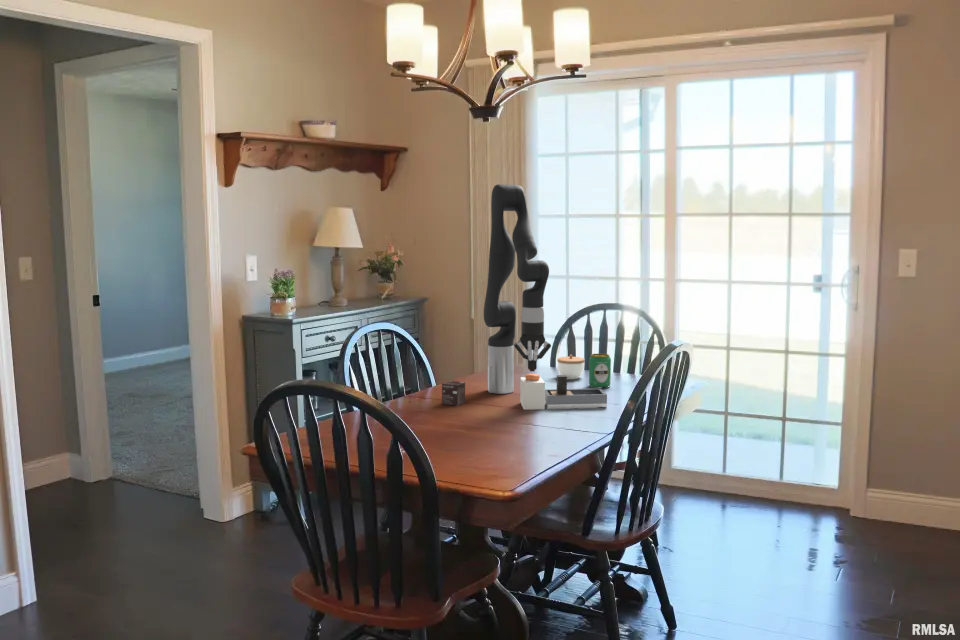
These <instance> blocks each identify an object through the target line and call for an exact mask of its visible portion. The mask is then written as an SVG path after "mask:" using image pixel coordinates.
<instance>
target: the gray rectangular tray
mask: <svg viewBox="0 0 960 640" xmlns="http://www.w3.org/2000/svg"><path fill="white" fill-rule="evenodd" d="M550 391H557V388H556V389H545V408H546V409H548V410H559V409H560V410H564V409H566V410H567V409H572V410H573V409H574V408H578V409H598V408H597V407H607V406H608V394H607V393H606V392H605V391H604V390H603V388H567V391H571V393H572V394H573V395H550ZM607 408H608V407H607Z"/></svg>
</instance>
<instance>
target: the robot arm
mask: <svg viewBox="0 0 960 640" xmlns="http://www.w3.org/2000/svg"><path fill="white" fill-rule="evenodd" d="M490 199H491V200H490V204H491V205H490V213H491V214H490V215H491V216H490V217H491V221H490V222H491V224H490V225H491V231H490V243H489V253H488V254H489V257H488V273H487V286H486V292H485V299H484V307H483V322H484V324H485V325H486V327H488V328H499V330H498V331H497V332H496V333H494V334H492V335H490V336H489V337H488V341H487V344H488V345H487V347H488V350H487V351H488V355H487V356H488V361H487V362H488V363H487V391H488V393H489V394H500V395H501V394H502V395H503V394H511V393H513V392H514V388H515V387H514V371H515V370H514V356H515V355H514V349H516V351H518V353H519V355H521V357H522V358H523V359H524V360H527V369H528V371H529V372H535V371H536V370H537V367H538V366H537V362H538V360H541V359H543V358H544V357H545V355H546V354H547V352H548V351H549V350H550V349H551V347H552V345H551V343H549V342H548V341H546V337H545V332H544V331H545V311H544V310H545V309H544V294H545V289H546V286H547V283H548V279H549V275H550V267H549V265H548V262H546V261H544V260H532V259H534V258H536V257H537V255H538V248H537V245H536V242H535V239H534V236H533V233H532V230H531V229H532V228H531V225H530V217H529V211H528V210H529V208H528V205H527V204H528V202H527V197H526V194H525V191H524V188H523V187H522V186H521V185H519V184H495V185H494V186H493V188H492V191H491V198H490ZM504 212H515V213H516V216H517V219H516V222H515V223H516V224H515V226H514V229H513V231H512V237H511V236H510V233H509V232H508V230H507V228H506V225H505V219H504V218H505V217H504ZM515 261H516V262H517V263H516V262H515ZM515 263H516V265H517V266H516V267H517V268H516V275H517V278H519V280H520V281H521V282H523V283H533V282H534V284H533V286H532V287H530V288H527V289H523V291H522V300H521V301H522V307H521V316H520V321H521V327H520V330H521V331H520V332H521V335H520V338H519V340H518V341H517V342H516V343H515V337H516V322H517V321H516V318H517V312H516V307H515V304H514V303H513V302H512V301H510V300H501V301H500V300H499V299H500V295H501V292H502V288H503V287H504V285H505V283H506V282H507V281H508V279H509V277H510V276H511V274H512V272H513V270H514V268H515ZM522 347H523V348H524V349H525V350H526V352H527V354H526V353H525V352H524V351H523V349H522ZM541 347H543V348H542V349H541ZM540 349H541V350H540ZM539 350H540V352H539Z"/></svg>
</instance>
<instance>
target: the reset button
mask: <svg viewBox="0 0 960 640" xmlns="http://www.w3.org/2000/svg"><path fill="white" fill-rule="evenodd" d="M524 377H525V379H527V381H538V379H540V377H541V376H540V374H538V373H537V374H536V373H527V374H525V376H524Z"/></svg>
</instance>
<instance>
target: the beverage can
mask: <svg viewBox="0 0 960 640" xmlns="http://www.w3.org/2000/svg"><path fill="white" fill-rule="evenodd" d="M588 361H589V362H588V363H589V365H588V366H589V367H588V369H589V370H588V384H589V387H590V386H592V387H591V388H593V387H608V386H609V387H610V385H611V376H612V375H611V373H612V372H611V370H612V367H611V366H612V359H611V357H610V354H607V353H591V355H590V357H589V359H588ZM609 387H608V388H609Z"/></svg>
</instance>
